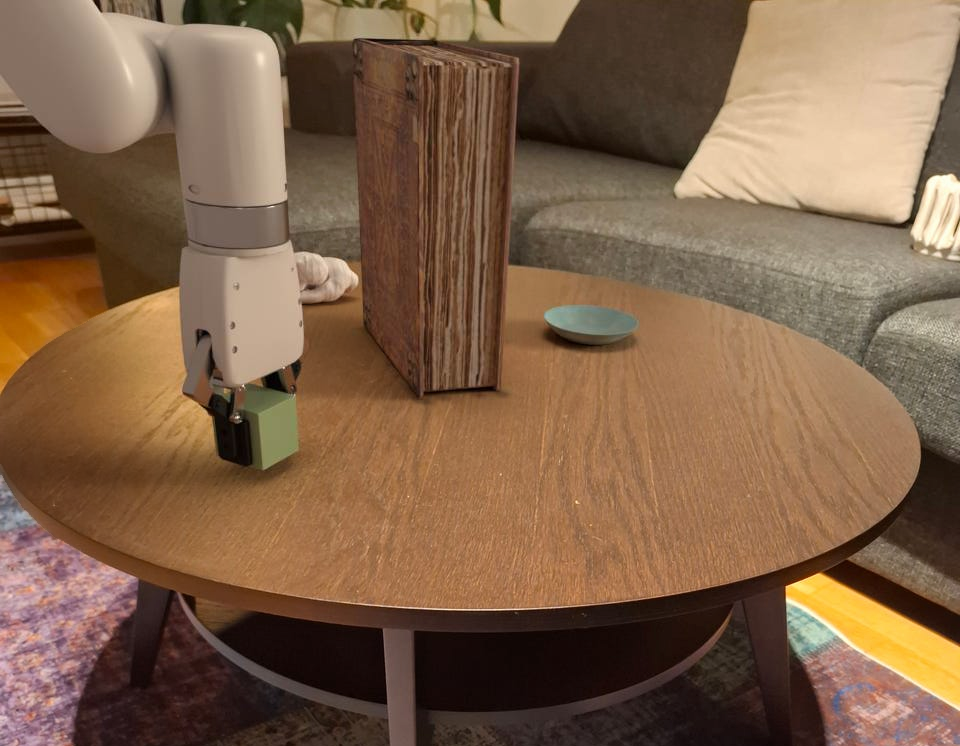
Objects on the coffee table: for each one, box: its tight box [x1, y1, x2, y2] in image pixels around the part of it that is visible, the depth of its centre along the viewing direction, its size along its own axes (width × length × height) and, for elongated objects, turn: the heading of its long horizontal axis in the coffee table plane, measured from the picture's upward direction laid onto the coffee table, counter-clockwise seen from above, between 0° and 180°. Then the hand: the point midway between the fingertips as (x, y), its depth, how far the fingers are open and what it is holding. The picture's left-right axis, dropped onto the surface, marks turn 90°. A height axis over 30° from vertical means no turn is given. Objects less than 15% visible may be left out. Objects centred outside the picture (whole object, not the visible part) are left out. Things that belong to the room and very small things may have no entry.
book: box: [351, 37, 520, 400], centre depth 95 cm, size 25×9×30 cm, turn 19°
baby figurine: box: [294, 251, 359, 305], centre depth 119 cm, size 9×12×8 cm
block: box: [211, 382, 300, 471], centre depth 77 cm, size 5×5×5 cm
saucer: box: [543, 304, 640, 346], centre depth 112 cm, size 12×12×2 cm
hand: (257, 448), depth 78 cm, fingers closed on block, 5 cm apart
